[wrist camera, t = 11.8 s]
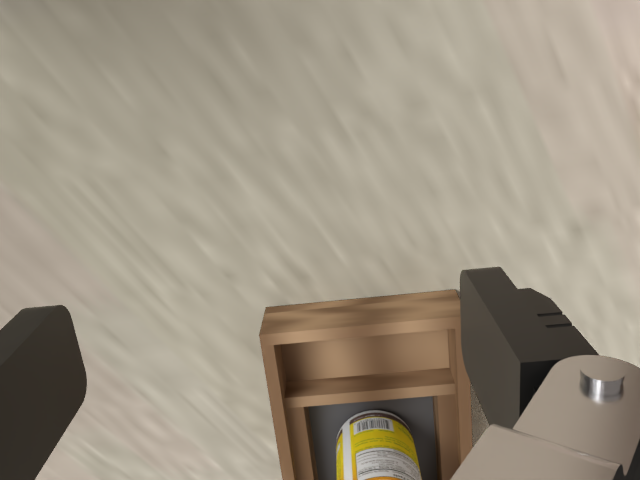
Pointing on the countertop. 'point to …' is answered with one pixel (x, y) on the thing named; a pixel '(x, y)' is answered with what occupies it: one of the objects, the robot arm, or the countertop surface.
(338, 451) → the supplement bottle
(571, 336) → the robot arm
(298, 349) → the walnut crate
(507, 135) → the countertop surface
